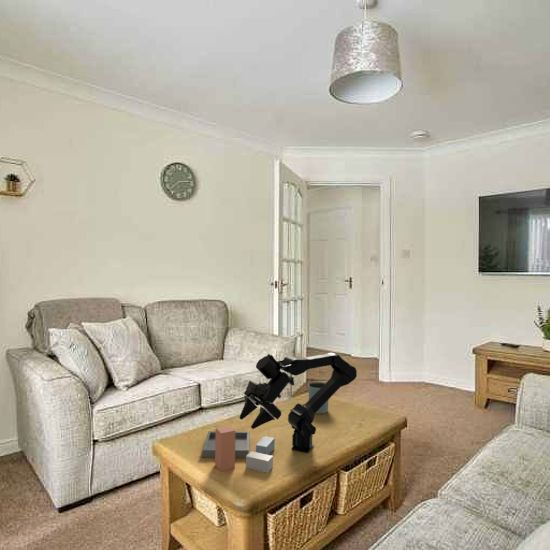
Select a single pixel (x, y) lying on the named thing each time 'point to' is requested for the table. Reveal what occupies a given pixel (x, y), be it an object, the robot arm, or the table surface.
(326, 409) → the blue-grey bin
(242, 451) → the tray
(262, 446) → the slate brick
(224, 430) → the column
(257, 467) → the grey brick
